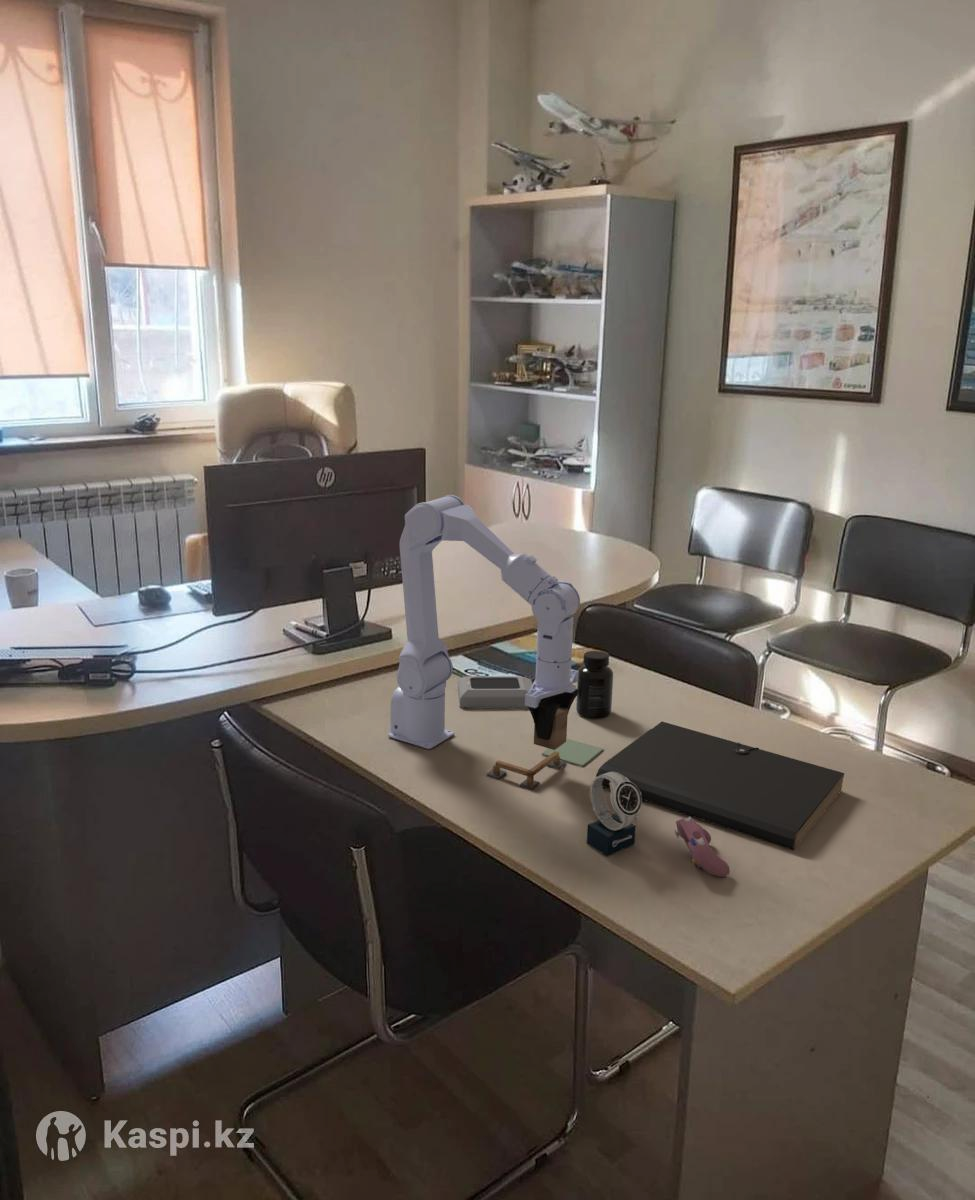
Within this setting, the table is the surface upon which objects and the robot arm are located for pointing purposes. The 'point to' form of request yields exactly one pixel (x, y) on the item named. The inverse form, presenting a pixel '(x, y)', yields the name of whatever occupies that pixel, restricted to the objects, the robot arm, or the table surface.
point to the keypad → (493, 691)
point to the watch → (613, 829)
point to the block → (555, 731)
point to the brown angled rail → (529, 783)
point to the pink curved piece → (701, 847)
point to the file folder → (727, 782)
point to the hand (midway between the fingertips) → (550, 733)
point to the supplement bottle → (594, 686)
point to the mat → (575, 752)
